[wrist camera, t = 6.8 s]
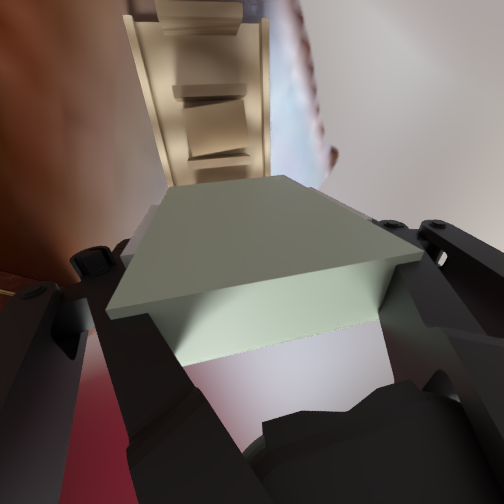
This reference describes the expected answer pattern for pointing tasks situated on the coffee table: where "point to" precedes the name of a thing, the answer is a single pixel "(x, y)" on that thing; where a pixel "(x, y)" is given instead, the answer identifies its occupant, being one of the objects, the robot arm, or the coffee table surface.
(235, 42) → the rack
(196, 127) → the offcut oak
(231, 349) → the sage board
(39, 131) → the coffee table surface
